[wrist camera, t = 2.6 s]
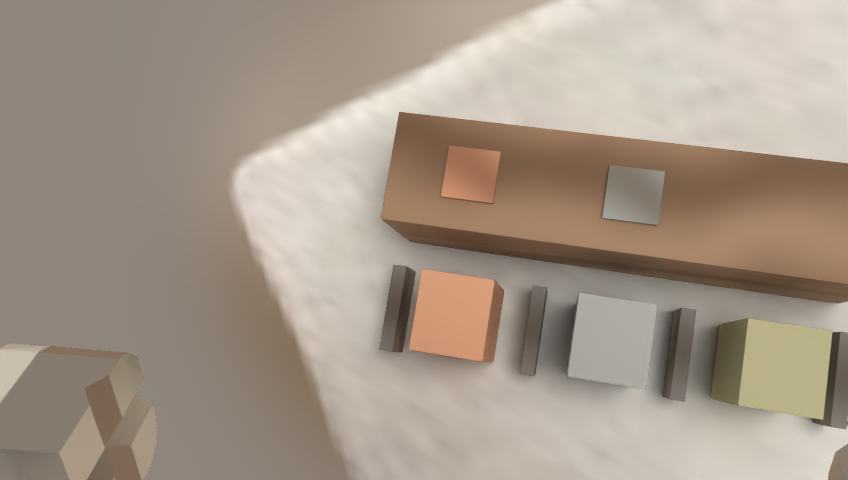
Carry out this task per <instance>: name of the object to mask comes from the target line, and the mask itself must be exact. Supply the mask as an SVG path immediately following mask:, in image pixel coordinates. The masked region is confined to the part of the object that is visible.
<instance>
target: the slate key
mask: <svg viewBox="0 0 848 480" xmlns="http://www.w3.org/2000/svg"><path fill="white" fill-rule="evenodd" d="M656 311H657V304H651V303H644V302H637V301H631V300H624V299H617V298H611V297H604V296H598V295H591V294H584V293H579V295H578V299H577V302H576V309H575V316H574V323H573V330H572V337H571V344H570V351H569V358H568V365H567V372H566V374H567V376H568V377H574V378H580V379H586V380H592V381H597V382H603V383H609V384H615V385H621V386H627V387H633V388H639V389H645V390H646V388H647V380H648V372H649V365H650V357H651V349H652V342H653V334H654V326H655V319H656Z"/></svg>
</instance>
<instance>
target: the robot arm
mask: <svg viewBox="0 0 848 480" xmlns="http://www.w3.org/2000/svg"><path fill="white" fill-rule="evenodd" d="M143 379H144V375H143V372H142V369H141V366H140V363H139V360H138V357H137V356H134V355H132V354H130V353H125V352H112V351H102V350H101V351H100V350H90V349H79V348H67V347H56V346H50V347H44V346H34V345H33V346H32V345H23V344H12V343H11V344H9V345H6V346H4V347H2V348H0V480H144V478H145V476H146V474H147V472H148V470H149V467H150V465H151V463H152V459H153V455H154V450H155V445H156V440H157V427H156V417H155V414H154V410H153V406H152V404H151V403H149V402H148V401H147V400H146V399H145V398H144V397H143V396H142V395H140V394H139V393H138V392H137V390H138V388H139V386H140V385H141V383H142V381H143ZM847 426H848V421H847ZM828 480H848V444H847V445H846V446H844V447H843V448H841V449H840V450H838V451H837V452H836V453H835V456H834V459H833V462H832V465H831V468H830V471H829V476H828Z"/></svg>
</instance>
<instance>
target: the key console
mask: <svg viewBox="0 0 848 480" xmlns="http://www.w3.org/2000/svg"><path fill="white" fill-rule="evenodd" d="M381 219H382V220H383V221H385V222H386V223H387V224H389V225H390V226H391V227H392V228H394V229H395V230H396V231H398V232H399V233H400V234H401V235H403V236H404V237H405V238H407V239H408V240H409V241H410V242H416V243H423V244H430V245H437V246H444V247H451V248H458V249H465V250H472V251H479V252H485V253H492V254H499V255H506V256H513V257H520V258H527V259H534V260H541V261H548V262H555V263H562V264H568V265H575V266H582V267H589V268H596V269H603V270H610V271H617V272H624V273H631V274H638V275H645V276H651V277H658V278H665V279H672V280H679V281H686V282H693V283H700V284H707V285H714V286H721V287H728V288H734V289H741V290H748V291H755V292H762V293H769V294H776V295H783V296H790V297H797V298H804V299H811V300H817V301H824V302H831V303H842V302H847V301H848V163H839V162H830V161H822V160H813V159H804V158H796V157H787V156H778V155H769V154H761V153H752V152H743V151H735V150H726V149H717V148H709V147H700V146H691V145H682V144H674V143H665V142H656V141H648V140H639V139H630V138H622V137H613V136H604V135H595V134H587V133H578V132H569V131H561V130H552V129H543V128H534V127H526V126H517V125H508V124H500V123H491V122H482V121H474V120H465V119H456V118H447V117H439V116H430V115H421V114H413V113H404V112H399V116H398V122H397V128H396V134H395V140H394V145H393V151H392V157H391V163H390V169H389V174H388V180H387V186H386V192H385V198H384V203H383V209H382V215H381ZM414 278H415V271H413V270H411V269H410V268H408V267H406V266H400V265H394V266H393V272H392V278H391V284H390V289H389V295H388V301H387V307H386V313H385V319H384V325H383V331H382V337H381V343H380V348H379V350H384V351H390V352H402V351H403V345H404V339H405V333H406V327H407V321H408V314H409V308H410V302H411V296H412V290H413V284H414ZM546 298H547V288H546V287H539V286H533V289H532V296H531V302H530V309H529V316H528V322H527V329H526V336H525V343H524V349H523V356H522V363H521V369H520V374H525V375H531V376H534V375H535V373H536V366H537V359H538V352H539V346H540V339H541V332H542V325H543V318H544V311H545V305H546ZM695 315H696V310H692V309H685V308H680V309H678V310H675V311H674V314H673V322H672V330H671V338H670V345H669V353H668V361H667V369H666V377H665V384H664V392H663V397H665V398H668V399H671V400H677V401H683V402H685V395H686V387H687V379H688V371H689V363H690V355H691V347H692V339H693V331H694V323H695ZM847 417H848V333H845V332H833V333H832V341H831V350H830V360H829V369H828V378H827V388H826V397H825V407H824V416H823V420H821V419H815V418H813V422H814V423H818V424H822V425H826V426H830V427H835V428H841V429H846V427H847Z"/></svg>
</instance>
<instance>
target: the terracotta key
mask: <svg viewBox="0 0 848 480" xmlns="http://www.w3.org/2000/svg"><path fill="white" fill-rule="evenodd" d="M503 295H504V290H503V289H502V288H501V287H500V286H499V285H498V283H497V282H496V281H495V280H492V279H485V278H478V277H472V276H465V275H458V274H452V273H445V272H438V271H432V270H425V269H422V272H421V278H420V285H419V291H418V297H417V303H416V309H415V315H414V321H413V327H412V333H411V339H410V345H409V350H415V351H421V352H427V353H433V354H439V355H444V356H450V357H456V358H462V359H468V360H474V361H480V362H489V361H494V354H495V348H496V341H497V335H498V328H499V322H500V315H501V309H502V302H503Z"/></svg>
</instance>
